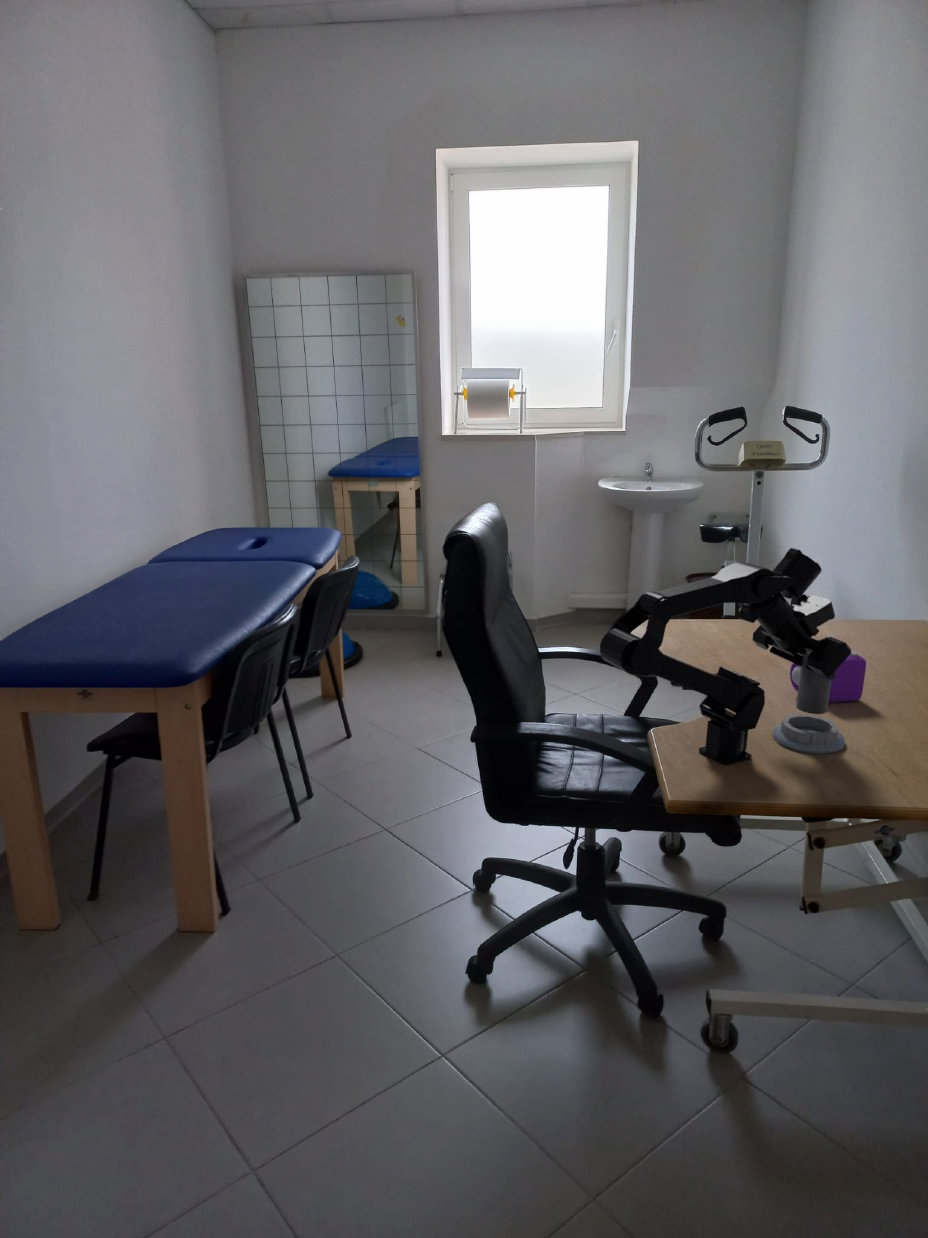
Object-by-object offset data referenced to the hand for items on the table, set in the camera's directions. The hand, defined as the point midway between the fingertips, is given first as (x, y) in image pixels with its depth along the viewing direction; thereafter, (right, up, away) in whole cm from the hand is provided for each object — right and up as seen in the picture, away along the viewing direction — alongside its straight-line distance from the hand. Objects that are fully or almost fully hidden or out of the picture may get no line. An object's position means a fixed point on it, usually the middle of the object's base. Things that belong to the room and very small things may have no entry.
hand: (822, 672), depth 150 cm
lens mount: (-1, -12, +3) cm, 13 cm away
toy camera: (+10, -7, +24) cm, 27 cm away
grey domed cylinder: (-1, -6, +1) cm, 7 cm away
